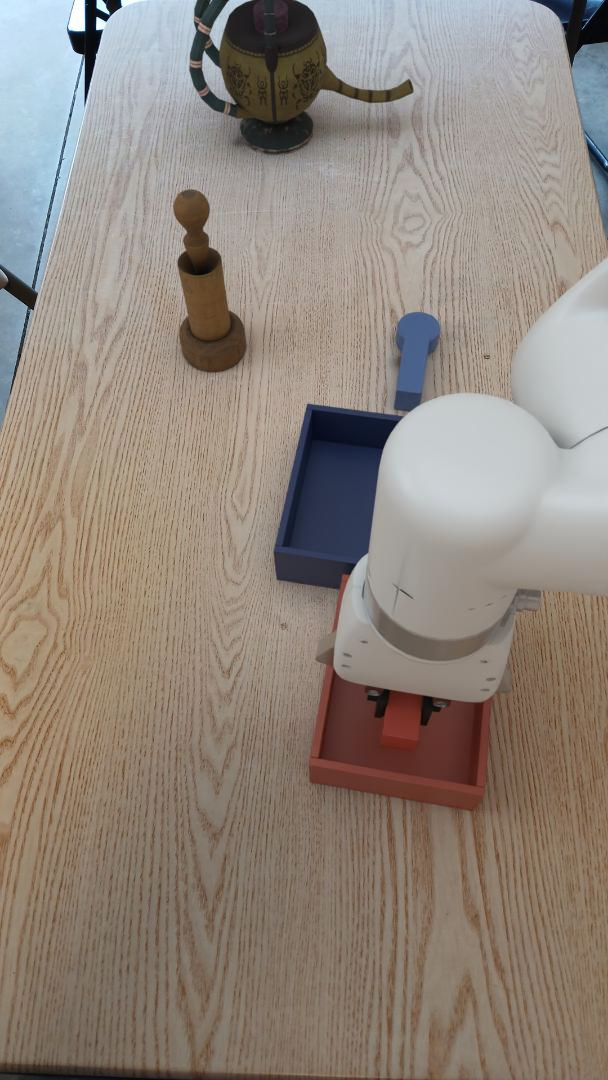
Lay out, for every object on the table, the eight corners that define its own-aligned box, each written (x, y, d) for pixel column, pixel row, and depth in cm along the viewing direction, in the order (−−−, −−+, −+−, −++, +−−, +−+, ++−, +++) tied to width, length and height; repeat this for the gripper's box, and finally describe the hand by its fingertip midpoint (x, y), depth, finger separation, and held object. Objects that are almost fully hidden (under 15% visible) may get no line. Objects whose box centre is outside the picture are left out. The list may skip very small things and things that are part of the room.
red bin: (473, 811, 61) (484, 796, 57) (309, 782, 62) (308, 765, 58) (487, 623, 68) (499, 597, 64) (341, 600, 70) (342, 573, 65)
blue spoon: (428, 413, 79) (431, 394, 77) (384, 408, 79) (386, 388, 77) (439, 328, 84) (443, 308, 82) (398, 323, 85) (400, 303, 82)
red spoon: (426, 754, 58) (431, 743, 55) (366, 743, 58) (369, 732, 56) (442, 611, 63) (447, 595, 60) (387, 603, 63) (390, 586, 61)
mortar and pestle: (168, 345, 84) (133, 192, 68) (218, 313, 86) (195, 158, 70) (209, 383, 81) (182, 233, 66) (259, 349, 83) (245, 196, 68)
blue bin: (419, 601, 69) (426, 574, 65) (276, 579, 71) (273, 551, 66) (437, 454, 77) (444, 421, 72) (307, 437, 78) (307, 403, 74)
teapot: (205, 102, 104) (177, -118, 83) (406, 96, 103) (426, -126, 83) (200, 164, 98) (169, -56, 77) (413, 159, 97) (437, -64, 77)
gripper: (593, 549, 45) (518, 671, 61) (298, 505, 46) (301, 635, 62) (591, 680, 41) (512, 773, 57) (271, 627, 42) (282, 732, 58)
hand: (402, 700), depth 59 cm, fingers closed on red spoon, 2 cm apart
